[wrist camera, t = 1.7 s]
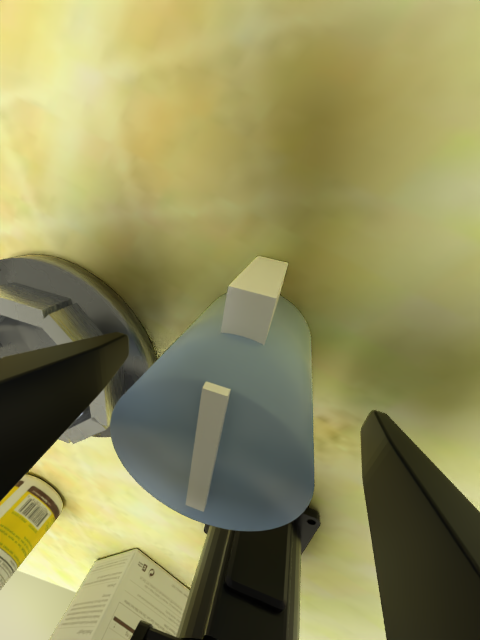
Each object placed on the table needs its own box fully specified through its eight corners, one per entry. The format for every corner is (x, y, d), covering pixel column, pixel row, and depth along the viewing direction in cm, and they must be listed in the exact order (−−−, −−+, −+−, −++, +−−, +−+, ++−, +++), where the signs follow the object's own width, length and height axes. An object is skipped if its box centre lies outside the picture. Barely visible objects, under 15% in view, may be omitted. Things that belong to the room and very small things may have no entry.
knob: (293, 399, 12) (280, 563, 7) (195, 369, 13) (110, 495, 7) (339, 275, 9) (385, 380, 4) (210, 244, 10) (89, 295, 4)
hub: (156, 445, 16) (133, 482, 14) (14, 393, 18) (-26, 419, 16) (162, 285, 11) (128, 305, 9) (-37, 232, 13) (-106, 237, 11)
